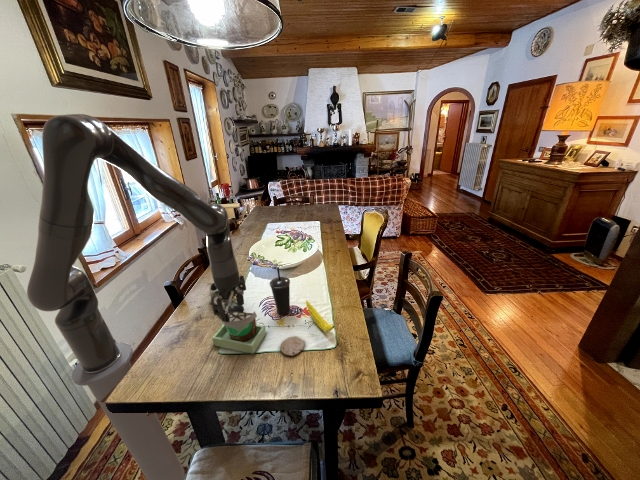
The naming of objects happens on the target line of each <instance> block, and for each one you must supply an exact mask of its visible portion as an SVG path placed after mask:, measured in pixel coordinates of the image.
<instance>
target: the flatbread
mask: <svg viewBox="0 0 640 480" xmlns="http://www.w3.org/2000/svg"><path fill="white" fill-rule="evenodd" d="M304 347H305V340H304V339H302V338H301V337H299V336H296V335H295V336H294V335H293V336H289V337H286V338H285V339H284V340H282V342H281V343H280V345H279V349H280V351H281V353H282V354H283V355H285V356H290V357H293V356H295V355H297V354H299V353H300V352H301V351H303V349H304Z"/></svg>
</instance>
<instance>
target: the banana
mask: <svg viewBox="0 0 640 480" xmlns="http://www.w3.org/2000/svg"><path fill="white" fill-rule="evenodd" d="M305 305H306V309H307V311H308V313H309V315H310V316H311V318H312V320H313V321H314V322H315V324H316V325H317V326H318V327H319V328H320V329H321V330H322V331H324V332H330V331H332V330H334V328H335V327H336V326H335V325H333V324H330V323H329V322H327V321H326V320H325V319H324V318H323V317H322V315H320V312H318V311H317V309H316V308H315V307H314V306H313V305H312V304H311V302H309V301H308V300H305Z"/></svg>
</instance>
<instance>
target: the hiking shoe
mask: <svg viewBox="0 0 640 480" xmlns="http://www.w3.org/2000/svg"><path fill="white" fill-rule="evenodd" d="M209 293H210V302H211V303H212V298H213V297H215V298H216V297H217V296H218V293H219V291H218V289H217V288H216V287H215V285H214V282H213V283H211V284H210V286H209ZM223 302H224V303H227V301H226V300H223ZM223 309H225V305H223ZM228 311H230V312H235V311H240V312H245V307H244V305H238V304H237V299H236V297H233V299H232V300H231V304H230V306H229V307H228ZM219 317H220V318H221V316H219Z"/></svg>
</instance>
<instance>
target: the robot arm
mask: <svg viewBox="0 0 640 480" xmlns="http://www.w3.org/2000/svg"><path fill="white" fill-rule="evenodd" d="M41 132H42V134H41V136H42V137H41V141H42V159H43V160H42V161H43V183H42V190H41V191H42V192H41V203H40V209H39V215H38V216H39V217H38V227H37V230H38V231H37V242H36V248H35V256H34V262H33V267H32V271H31V274H30V276H29V280H28V284H27V288H26V296H27V299H28V301H29V302H30V304H31V306H33V307H34V308H35V309H36V310H39V311H42V312H56V311H58V312H57V314H56V316H55V318H54V324H55V325H56V327H57V329H58V330H59V332H60V333H61V335H62V337H63V338H64V340H65V342H66V343H67V345H68V347H69V348H70V350H71V352H72V353H73V354H74V357H75V358H76V360H77V361H78V363H80V364H81V366H82V368H83V370H84V372H85V373H87V374H95V373H99V372H101V371H104V370H106V369H107V368H109V367H111V366H112V365H113V364H114V363H116V362H117V360H118V359H119V358H120V356H121V351H120V350H119V348H118V346H117V345H116V343H118V342H117V341H116V339H115V338H114V337H113V334H112V332H111V331H110V329H109V327H108V325H107V322H106V321H105V319H104V316H103V315H102V314H101V311H100V310H99V300H98V297H97V294H96V292H95V290H94V287H93V284H92V283H91V280H90V279H89V276H88V275H87V274H86V273H85V272H84V271H83V270H82V269H80V268H78V267H76V266H74V265H75V264H76V262H77V260H79V259H78V258H79V257H80V255H81V254H82V253H83V251H84V249H85V248H86V246H87V244H88V242H89V240H90V239H91V236H92V232H93V227H94V222H95V208H94V205H93V202H92V199H91V197H90V194H89V179H90V175H91V171H92V167H93V164H94V162H95V160H99V159H100V160H101V161H104V162H106V163H108V164H110V165H112V166H114V167H115V168H118V169H119V170H121V171H122V172H124V173H126V175H128V176H129V177H130V178H131V179H132V180H133V181H135V183H136V184H138V186H140V188H141V189H142V190H144V191H145V192H146V193H147V194H148V195H149V196H150V197H151V198H153V199H154V200H156V201H157V202H159V203H161V204H163V205H164V206H166V207H168V208H169V209H171V210H172V211H175V212H176V213H178V214H180V215H181V216H182V217H183V218H184V219H185V220H187V221H188V222H189V223H190V224H191V225H193V227H195V228H197V230H199V231H201V232H203V233H205V235H206V250H207V256H208V259H209V266H210V272H211V276H212V280H213V283H214V285H215V287H216V288H217V289H218V291H219V293H218V296H217V297H216V298H215V297H213V298H212V302H211V305H212V310H213V315H214V316H219V317H220V316H221V317H220V319H222V320H221V322H222V321H223V322H229V321H230V318H229V314H228V307H229V306H230V304H231V300H232V299H233V297H234V298H235V299H236V300H237V304H238V305H242V306H244V304H245V299H244V295H245V292H244V291H246V290H247V285H246V280H245V277H244V275H240V273H239V267H238V261H237V258H236V255H235V250H234V245H233V241H232V238H231V229H230V221H229V215H228V211H227V210H226V209H225V207H224V206H223V205H221V204H219V203H215V202H213V203H209V204H208V203H207V202H206V201H204V200H202V199H201V198H200V197H199V194H198V193H197V192H196V191H195V190H194V189H192V188H191V187H189V186H187V185H186V184H185V183H183V182H181V181H180V180H178V179H177V178H175V177H173V176H172V175H171V174H170V173H167V172H166V171H164V170H163V169H161V168H160V167H159V166H158V165H156V164H155V163H153V162H152V161H151V160H149V159H148V158H147V157H145V156H144V155H143V154H141V153H140V152H139V151H138V150H137V149H135V148H134V147H133V146H132V145H130V144H129V143H128V142H127V141H126V140H125V139H123V138H122V137H121V136H120V135H118V134H117V133H116V132H115V131H114V130H113V129H111V127H110V126H108V125H106V123H104V122H103V121H102V120H100V119H99V118H96V117H94V116H92V115H88V114H85V113H84V114H83V113H72V114H70V113H69V114H58V115H54V116H52V117H50V118H48V120H47V121H46V122H45V123H44V125H43V128H42V131H41ZM223 300H226V301H227V303H224V302H223ZM223 305H225V309H223Z"/></svg>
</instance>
